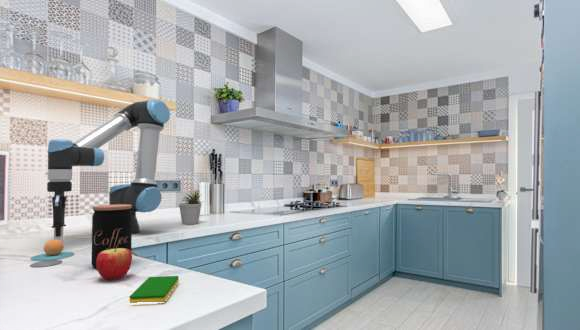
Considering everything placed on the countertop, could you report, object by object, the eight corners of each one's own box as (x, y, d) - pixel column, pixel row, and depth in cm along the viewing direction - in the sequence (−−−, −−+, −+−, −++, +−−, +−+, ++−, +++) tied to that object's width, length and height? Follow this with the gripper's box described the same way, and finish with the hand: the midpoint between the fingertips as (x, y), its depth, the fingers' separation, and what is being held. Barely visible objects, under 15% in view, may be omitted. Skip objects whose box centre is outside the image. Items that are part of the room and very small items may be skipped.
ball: (63, 252, 112) (65, 254, 116) (62, 236, 113) (63, 238, 117) (43, 256, 109) (45, 258, 113) (42, 240, 110) (44, 242, 114)
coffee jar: (86, 271, 93) (87, 207, 94) (97, 262, 103) (98, 204, 104) (127, 268, 96) (128, 206, 97) (134, 259, 106) (134, 203, 107)
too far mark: (65, 259, 107) (65, 259, 107) (57, 265, 99) (57, 265, 99) (36, 261, 104) (36, 261, 104) (25, 268, 97) (25, 267, 97)
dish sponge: (178, 285, 82) (178, 275, 83) (164, 306, 69) (164, 294, 69) (149, 286, 82) (149, 276, 82) (128, 308, 68) (128, 296, 68)
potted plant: (197, 225, 183) (197, 189, 183) (174, 225, 185) (174, 189, 185) (207, 222, 195) (207, 188, 196) (185, 222, 197) (185, 188, 198)
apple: (137, 277, 87) (138, 239, 87) (102, 285, 81) (103, 244, 81) (124, 271, 93) (125, 236, 93) (91, 279, 86) (91, 240, 87)
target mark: (78, 251, 119) (78, 250, 119) (68, 258, 108) (68, 258, 108) (38, 253, 115) (38, 253, 115) (24, 262, 104) (24, 261, 104)
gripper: (50, 181, 127) (49, 242, 126) (43, 181, 115) (42, 249, 114) (73, 180, 130) (72, 241, 129) (69, 181, 119) (68, 247, 118)
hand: (58, 244), depth 122 cm, fingers closed
